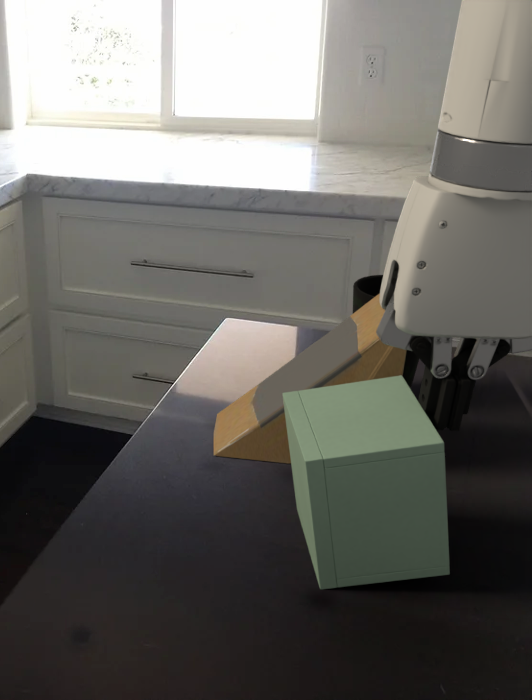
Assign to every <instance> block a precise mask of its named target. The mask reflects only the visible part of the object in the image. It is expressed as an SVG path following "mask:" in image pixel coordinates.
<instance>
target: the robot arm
mask: <svg viewBox="0 0 532 700" xmlns="http://www.w3.org/2000/svg"><path fill="white" fill-rule="evenodd" d="M456 23H457V24H456V29H455V34H454V41H453V44H452V50H451V55H450V61H449V66H448V71H447V76H446V82H445V88H444V92H443V98H442V103H441V108H440V114H439V119H438V124H437V132H436V136H435V141H434V146H433V153H432V157H431V163H430V167H429V173H428V175H418V176H416V177H414V179H413V181H412V184H411V185H410V188H409V191H408V193H407V196H406V198H405V200H404V202H403V206H402V208H401V211H400V215H399V218H398V220H397V224H396V227H395V231H394V233H393V236H392V240H391V244H390V247H389V251H388V255H387V258H386V262H385V265H384V266H385V267H384V271H383V274H382V275H383V279H382V284H381V289H380V298H379V301H380V305H381V307H382V308H383V309H384V310H385V312H384V315H383V317H382V319H381V321H380V323H379V326H378V328H377V331H376V334H377V336H378V337H379V339H380V340H381V341H382V343H383V344H385V345H389V346H393V347H396V348H400V349H404V350H410V351H413V352H414V353H415V354H416V355H417V357H418V358H419V361H421V363H422V364H423V365H424V370H423V374H422V380H421V385H420V389H419V395H418V399H417V400H418V402H419V404H420V405H421V407H422V408H423V410H424V411H425V413H426V414H427V416H428V418H429V419H430V421H431V422H432V424H433V426H434V427H435V429H436V430H437V431H444V430H445V429H447V430H449V431H450V432H451V431H454V432H456V431H457V432H458V431H460V429H461V425H462V420H463V416H465V415H466V416H467V414H469V411H470V407H471V402H472V399H473V394H474V390H475V385H476V381H478V380H481V379H483V378H484V377H485V376H486V374H487V372H488V369H489V368H490V367H492V366H493V365H495V364H496V363H497V362H499V361H500V360H502V359H503V358H505V357H506V356H507V355H508V354H512V355H514V354H519V353H525V352H530V351H532V0H461V2H460V8H459V13H458V19H457V22H456ZM453 338H459V340H458V344H457V346H456V348H455V351H454V353H453ZM452 355H453V356H452Z"/></svg>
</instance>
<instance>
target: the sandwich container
mask: <svg viewBox="0 0 532 700" xmlns="http://www.w3.org/2000/svg"><path fill="white" fill-rule="evenodd" d="M379 298H380V293H379V294H378V295H377V296H375V297H374V298H373V299H372V300H370V301H369V302H368V303H366V304H365V305H364V306H362V307H361V308H360V309H359V310H357V311H356V312H355V313H353V312H352V314H350V315H349V316H348V317H347V318H345V319H344V320H343V321H341V322H340V323H339V324H338V325H336V326H334V328H332V329H331V330H330V331H328V332H327V333H326V334H324V335H322V336H321V337H320V338H319V339H317V340H316V341H315V342H313V343H312V344H310V345H309V346H308V347H306V348H305V349H303V350H302V351H301V352H300V353H299V354H297V355H295V356H294V357H293V358H292V359H291V360H289V361H288V362H287V363H285V364H284V365H282V366H281V367H280V368H278V369H276V371H274V372H273V373H271V374H270V375H268V377H266V378H265V379H263V380H262V381H261V382H259V383H258V384H257V385H255V386H254V387H252V388H251V389H250V390H248V391H247V392H246V393H244V394H243V395H241V396H240V397H239V398H237V399H236V400H235V401H232V402H231V403H230V404H229V405H227V406H226V407H225V408H223V409H222V410H221V411H218V413H217V414H216V418H215V423H214V428H213V456H216V457H223V458H233V459H243V460H250V461H251V460H253V461H261V462H270V463H271V462H272V463H280V464H290V465H291V458H290V450H289V442H288V434H287V426H286V418H285V410H284V402H283V393H286V392H293V391H300V390H307V389H314V388H320V387H327V386H334V385H340V384H347V383H354V382H360V381H367V380H374V379H380V378H387V377H393V376H400V375H403V369H404V363H405V357H406V351H407V350H404V349H400V348H396V347H393V346H389V345H385V344H383V343H382V341H381V340H380V339H379V337H378V336H377V334H376V331H377V328H378V326H379V323H380V321H381V319H382V317H383V315H384V312H385V310H384V309H383V308H382V307H381V305H380V301H379Z"/></svg>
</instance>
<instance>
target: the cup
mask: <svg viewBox="0 0 532 700" xmlns="http://www.w3.org/2000/svg"><path fill="white" fill-rule="evenodd" d="M382 279H383V274H373V275H368V276H363V277H361V278H358V279H357V280H356V281H354V282H353V286H352V314H353V313H355V312H356V311H357V310H359V309H360V308H361V307H362V306H364V305H365V304H366V303H368V302H369V301H370V300H372V299H373V298H374V297H375V296H377V295H378V294H379V293H380V289H381V284H382ZM419 361H420V359H419V358H418V357H417V355H416V354H415V353H414V352H413V351H410V350H407V351H406V357H405V363H404V369H403V375H402V376H403V378H404V379H405V381H406V383H407V384H408V386H409V387H410V389H411V390H412V387H413V383H414V379H415V376H416V372H417V369H418V365H419Z"/></svg>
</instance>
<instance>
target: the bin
mask: <svg viewBox="0 0 532 700" xmlns="http://www.w3.org/2000/svg"><path fill="white" fill-rule="evenodd" d="M283 402H284V410H285V418H286V426H287V434H288V442H289V450H290V458H291V463H290V465H291V473H292V474H291V475H292V482H293V489H294V496H295V504H296V510H297V511H296V512H297V514H298V518H299V521H300V525H301V529H302V533H303V534H304V539H305V542H306V545H307V549H308V553H309V556H310V560H311V563H312V566H313V570H314V573H315V576H316V580H317V584H318V587H319V590H328V589H329V590H330V589H338V588H344V587H345V588H347V587H353V586H354V587H355V586H363V585H371V584H379V583H388V582H397V581H398V582H399V581H406V580H415V579H424V578H432V577H440V576H449V575H450V574H451V572H450V571H451V569H450V546H449V543H450V541H449V521H448V500H447V498H448V497H447V477H446V475H447V473H446V457H445V456H446V453H445V442H444V440H443V438H442V436H441V435H440V434H439V432H438V430H436V429H435V427H434V426H433V424H432V422H431V421H430V419H429V418H428V416H427V414H426V413H425V411H424V410H423V408H422V407H421V405H420V404H419V402H418V399H417V397H416V396H415V394H414V392H413V390H412V388H411V389H410V387H409V386H408V384H407V383H406V381H405V379H404V378H403V376H402V375H400V376H393V377H387V378H380V379H374V380H367V381H360V382H354V383H347V384H340V385H334V386H327V387H320V388H314V389H307V390H300V391H293V392H286V393H283Z"/></svg>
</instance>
